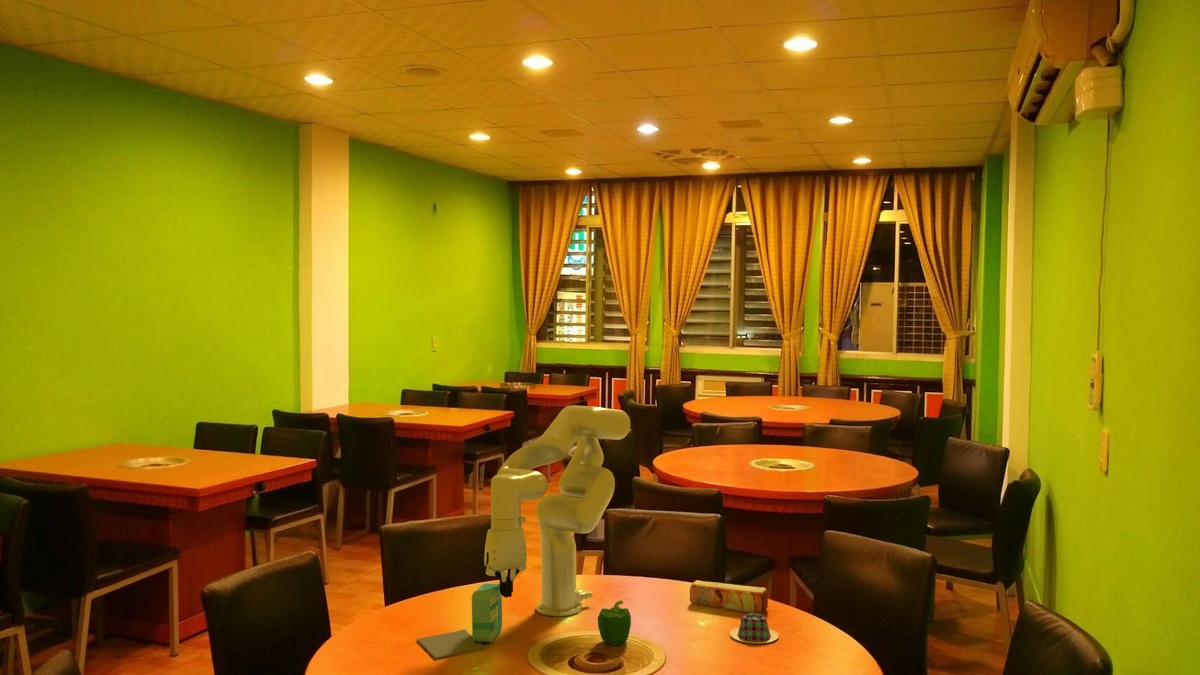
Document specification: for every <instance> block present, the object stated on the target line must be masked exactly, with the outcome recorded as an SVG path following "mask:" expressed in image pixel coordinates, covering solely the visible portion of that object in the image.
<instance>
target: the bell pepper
mask: <svg viewBox="0 0 1200 675" xmlns="http://www.w3.org/2000/svg"><path fill="white" fill-rule="evenodd" d="M623 603H624V600H622V599H618V600H617V601H616V602H615V603H614V605H613V607H611V608H601V610H600V612H599V614H598V617H597V628H598V630H599V634H600V637H601V639H602V642H604V644H607V645H612V646H616V647H617V646H622V645H625V644H626V642H627V641H628V639H629V634H630V631H631V630H630V629H631V626H632V625H631V624H632V616H631V613H630V611H629V608H628V607H627V608H626V607H625V608H622V607H620V605H623Z"/></svg>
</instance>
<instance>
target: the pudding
mask: <svg viewBox="0 0 1200 675" xmlns="http://www.w3.org/2000/svg"><path fill="white" fill-rule="evenodd" d="M729 634H730V635H729V636H730V637H731V638H733V639H734V640H735V641H738V642H739V641H740V642H743V643H748V644H767V643H771V642H774V641H776V640H777V639H779V637H780V636H779V633H778V632H777V631H775V630H774V629H772V628H769V625H768V621H767V617H765V616H764V615H763V614H762V615H761V614H755V613H746V614H744V615H742V617H741V620H740V624H739V626H738V627H734V628H732V629H731V630H730V631H729Z"/></svg>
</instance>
